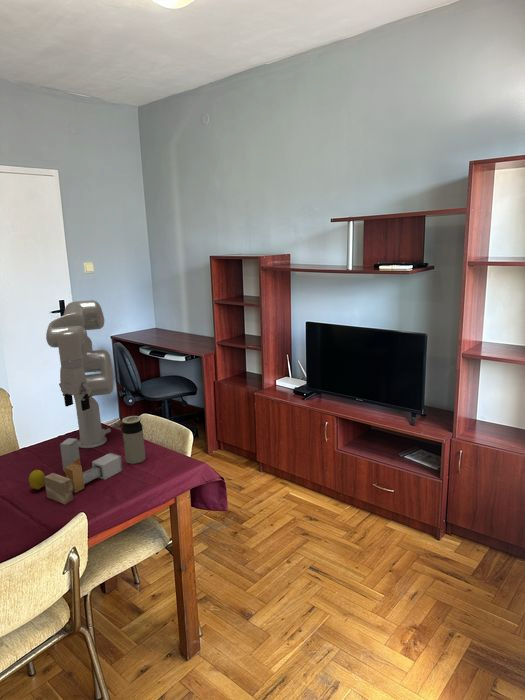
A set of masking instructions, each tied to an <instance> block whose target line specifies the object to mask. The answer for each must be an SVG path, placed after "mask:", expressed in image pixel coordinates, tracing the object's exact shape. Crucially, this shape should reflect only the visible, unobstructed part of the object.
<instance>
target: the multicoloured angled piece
mask: <svg viewBox="0 0 525 700" xmlns="http://www.w3.org/2000/svg"><path fill="white" fill-rule="evenodd" d="M82 467H83V466H82V465H78V464H75V463H73V464H71V465H69V466H67V467H65V468H64V469H65V472H64V474H65V476H64V477H66V478H68V479H70V480H71V487H72V493H73V494H76V493H78V492H80V491H82V490H83V489H85V484H88V483H89V482H91V481H93V480H95V479H98V477H99V476H101V475H102V468H101V467H100V466H95V467H93V468H92V467H91V468H89V469H87V470H85V471H83V468H82Z"/></svg>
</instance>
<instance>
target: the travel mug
mask: <svg viewBox="0 0 525 700" xmlns="http://www.w3.org/2000/svg"><path fill="white" fill-rule="evenodd" d="M141 420H142V418H141V416H139V415H130V416H126V417H123V418H122V420H121V422H122V424H123V425H122V428H121V430H122V438H123V439H122V440H123V447H124V448H123V449H124V455H125V462H126V463H127V464H133V465H134V464H140V463H142V462H144V461H145V460H146V449H145V440H144V439H145V437H144V428H143V424H142V422H141Z"/></svg>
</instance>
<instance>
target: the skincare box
mask: <svg viewBox="0 0 525 700" xmlns="http://www.w3.org/2000/svg"><path fill="white" fill-rule="evenodd" d="M78 441H79V439H78V438H73V437H72V438H71V437H69V438H66V439H64V441H62V442H61V443H60V444H59V446H60V447H59V448H60V455H61V461H62V470H63V471H62V472H64V473H65V469H64V468H65V467H67V466H69V465H71V464H73V463H75V464H78V465H81V464H82V463H81V459H80V457H81V456H80V450H79V448H80V447H78ZM81 466H82V465H81Z"/></svg>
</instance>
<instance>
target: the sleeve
mask: <svg viewBox="0 0 525 700" xmlns="http://www.w3.org/2000/svg"><path fill="white" fill-rule="evenodd" d="M91 466H92V467H91V468H93V467H95V466H100V467H101V468H102V475H101V476H99V477H97V479H101V480H104V481H106V480H107V479H109V478H111V477H112V476H114V475H116V474H119V473H120V472H122V471H123V470H124V469H123V468H124V467H123V461H122V456H121V455H119V454H115V453H112V452H109V453H106V454H105V455H103V456H101V457H98V458H97V459H94V460H93V461H91Z"/></svg>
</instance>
